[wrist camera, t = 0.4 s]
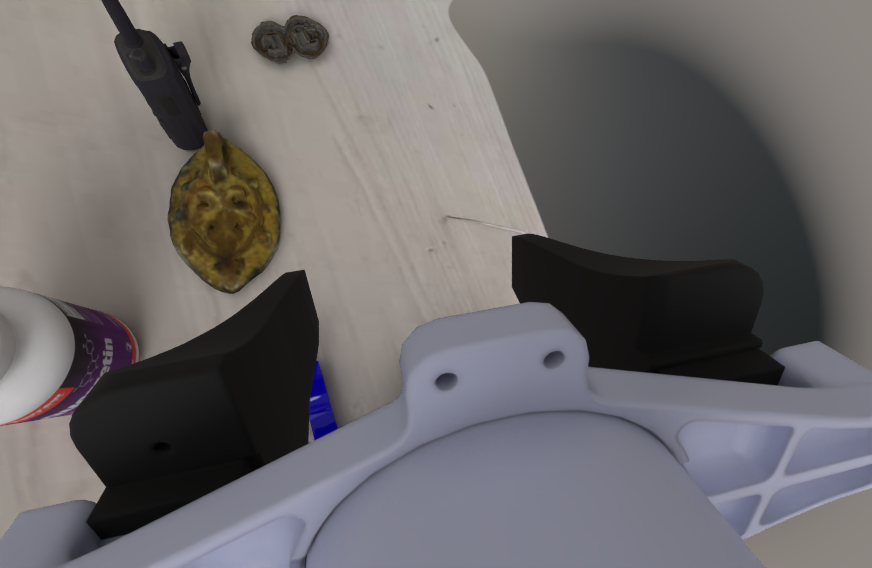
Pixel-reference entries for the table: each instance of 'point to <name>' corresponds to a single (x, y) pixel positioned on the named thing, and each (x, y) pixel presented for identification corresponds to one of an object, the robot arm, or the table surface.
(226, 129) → the table surface
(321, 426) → the cable holder
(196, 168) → the seal
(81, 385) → the pill bottle
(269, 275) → the table surface
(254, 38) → the corroded twin loop
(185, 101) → the two-way radio
